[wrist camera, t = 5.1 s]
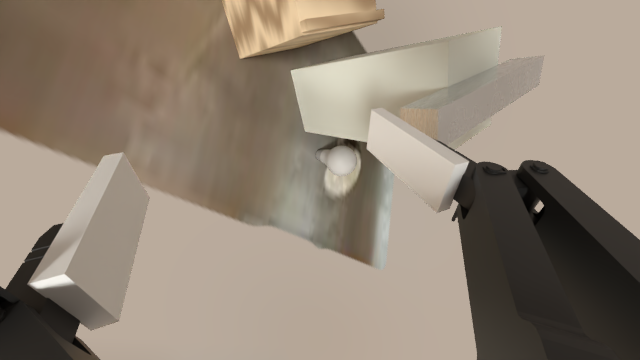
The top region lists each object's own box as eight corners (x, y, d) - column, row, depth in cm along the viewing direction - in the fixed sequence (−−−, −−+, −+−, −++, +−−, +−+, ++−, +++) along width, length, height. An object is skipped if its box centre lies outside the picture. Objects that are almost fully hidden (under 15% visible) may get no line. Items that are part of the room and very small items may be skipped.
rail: (399, 108, 22) (438, 109, 19) (510, 59, 33) (544, 55, 30) (401, 145, 23) (437, 151, 20) (506, 86, 34) (538, 85, 32)
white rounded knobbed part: (319, 134, 54) (355, 141, 46) (332, 154, 58) (367, 163, 49) (302, 154, 53) (334, 164, 44) (316, 172, 56) (349, 185, 48)
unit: (290, 70, 46) (449, 40, 24) (337, 59, 52) (501, 26, 29) (305, 134, 52) (445, 160, 29) (346, 117, 58) (490, 128, 35)
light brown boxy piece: (219, -8, 37) (285, -86, 21) (286, -11, 42) (377, -75, 27) (240, 58, 41) (308, 33, 25) (299, 47, 46) (384, 20, 31)
